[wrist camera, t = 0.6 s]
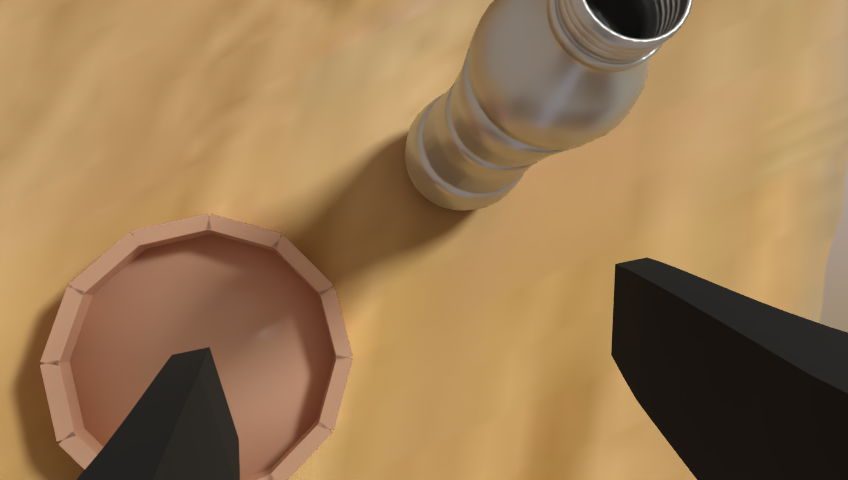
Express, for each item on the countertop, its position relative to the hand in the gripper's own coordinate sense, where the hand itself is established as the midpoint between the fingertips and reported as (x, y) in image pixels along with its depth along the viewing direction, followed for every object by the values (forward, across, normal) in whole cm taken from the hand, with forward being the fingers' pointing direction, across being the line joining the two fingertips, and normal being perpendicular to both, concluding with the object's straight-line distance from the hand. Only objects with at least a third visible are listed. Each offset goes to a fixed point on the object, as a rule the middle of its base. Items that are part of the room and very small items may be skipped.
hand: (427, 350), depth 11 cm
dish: (+20, +9, +13) cm, 25 cm away
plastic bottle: (+26, -6, +7) cm, 27 cm away
